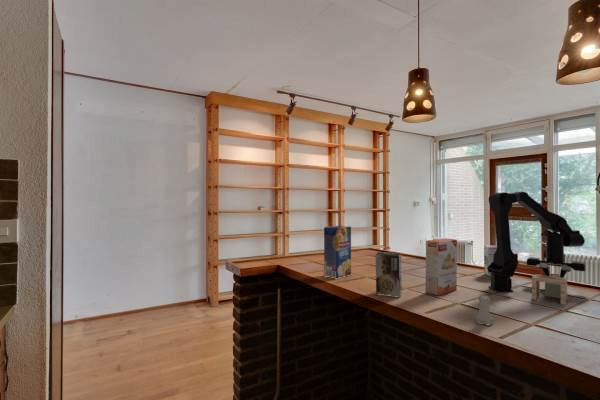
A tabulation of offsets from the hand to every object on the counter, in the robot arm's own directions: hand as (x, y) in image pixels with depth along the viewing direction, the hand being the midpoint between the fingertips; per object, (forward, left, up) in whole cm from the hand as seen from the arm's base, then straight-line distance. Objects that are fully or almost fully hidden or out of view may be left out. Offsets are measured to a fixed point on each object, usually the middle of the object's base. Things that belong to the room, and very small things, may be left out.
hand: (555, 284), depth 132 cm
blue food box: (-88, +19, -2) cm, 90 cm away
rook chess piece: (-48, -39, -2) cm, 62 cm away
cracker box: (-48, -6, -2) cm, 49 cm away
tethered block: (-4, -6, -2) cm, 7 cm away
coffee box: (-70, -11, -2) cm, 71 cm away
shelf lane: (-12, -14, -2) cm, 19 cm away
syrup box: (-13, +23, -2) cm, 26 cm away
